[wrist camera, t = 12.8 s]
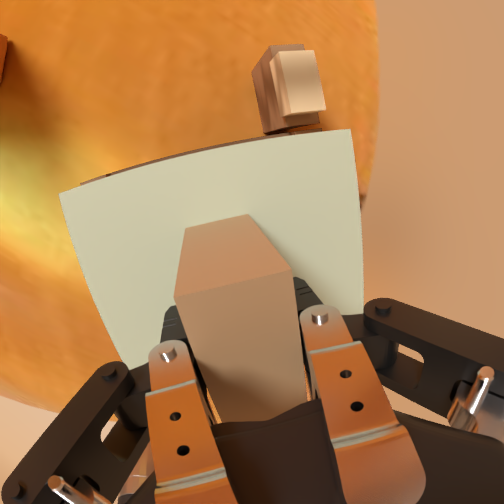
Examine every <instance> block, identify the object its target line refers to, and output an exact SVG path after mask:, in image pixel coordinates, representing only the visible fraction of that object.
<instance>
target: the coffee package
mask: <svg viewBox="0 0 504 504" xmlns="http://www.w3.org/2000/svg"><path fill="white" fill-rule="evenodd" d="M6 51H7V37H6V36H4V35H2V34H0V84H1V79H2V72H3V66H4V59H5V54H6Z"/></svg>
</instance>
